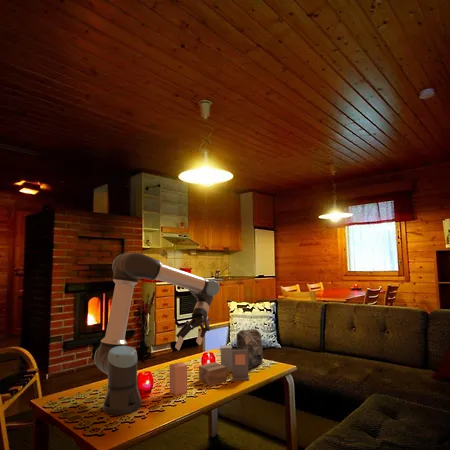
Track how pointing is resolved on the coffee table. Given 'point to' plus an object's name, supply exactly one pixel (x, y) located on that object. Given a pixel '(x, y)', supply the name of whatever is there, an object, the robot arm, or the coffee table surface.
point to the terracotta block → (178, 378)
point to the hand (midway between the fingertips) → (187, 345)
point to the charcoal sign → (240, 365)
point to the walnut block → (212, 373)
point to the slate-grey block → (226, 356)
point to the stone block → (251, 345)
